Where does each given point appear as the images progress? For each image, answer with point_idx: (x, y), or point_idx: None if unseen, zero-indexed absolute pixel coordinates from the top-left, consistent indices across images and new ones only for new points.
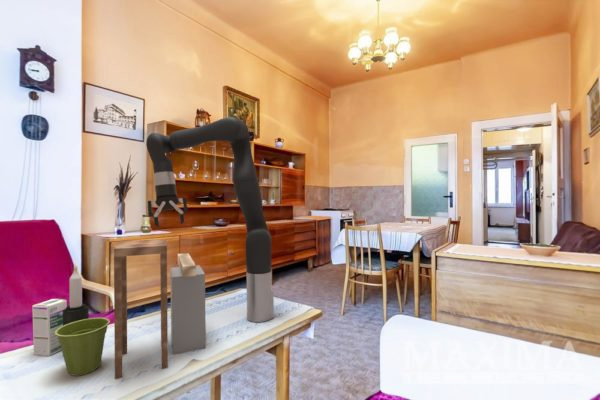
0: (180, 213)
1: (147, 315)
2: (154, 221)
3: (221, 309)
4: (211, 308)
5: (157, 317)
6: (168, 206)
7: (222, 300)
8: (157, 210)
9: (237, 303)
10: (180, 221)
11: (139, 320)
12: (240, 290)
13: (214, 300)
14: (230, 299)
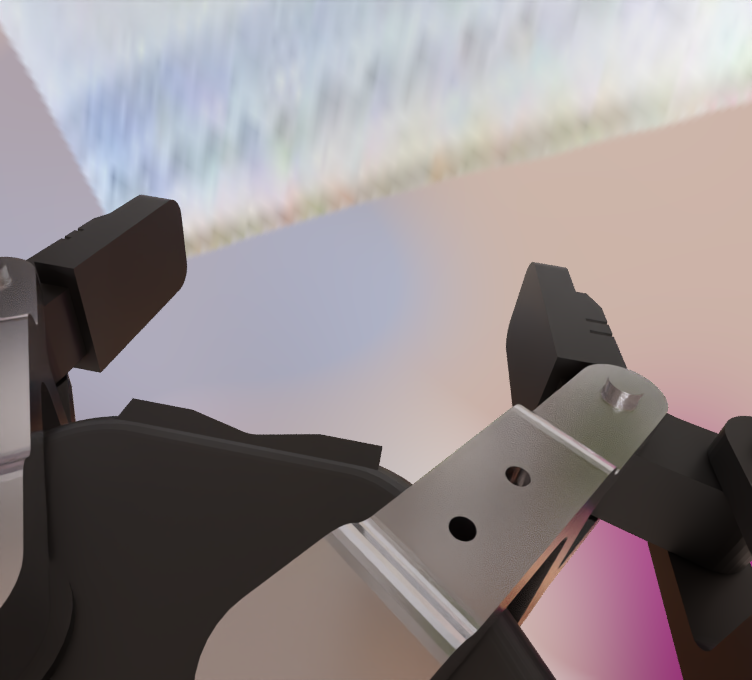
0: (31, 270)
1: (568, 144)
2: (612, 342)
3: (250, 17)
4: (289, 64)
5: (536, 82)
6: (188, 499)
7: (228, 157)
8: (595, 456)
9: (171, 67)
10: (155, 211)
11: (620, 88)
12: None
13: (260, 180)
14: (194, 150)
